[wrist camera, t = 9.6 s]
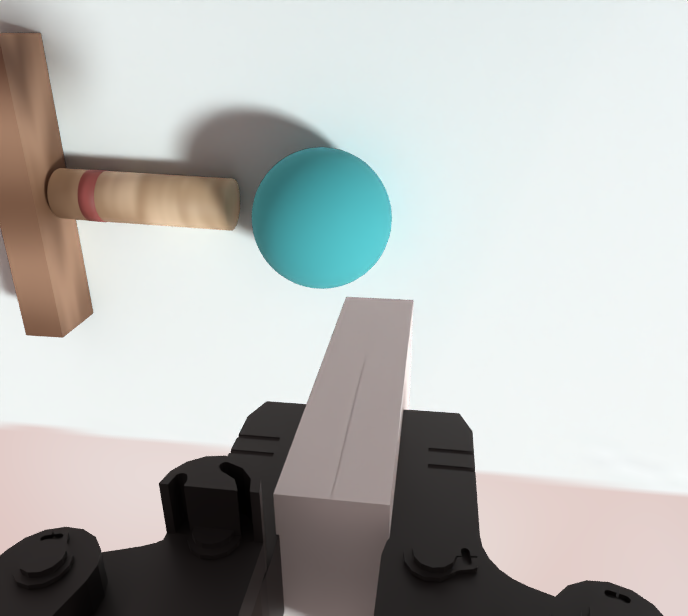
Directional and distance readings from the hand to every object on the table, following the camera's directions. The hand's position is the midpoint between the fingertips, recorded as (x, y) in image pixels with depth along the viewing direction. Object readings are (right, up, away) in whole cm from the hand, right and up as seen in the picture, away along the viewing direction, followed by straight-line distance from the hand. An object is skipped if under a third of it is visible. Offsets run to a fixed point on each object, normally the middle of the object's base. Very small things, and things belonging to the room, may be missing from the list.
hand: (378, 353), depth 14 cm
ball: (-2, +5, +13) cm, 14 cm away
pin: (-6, +6, +15) cm, 17 cm away
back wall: (-16, +7, +17) cm, 24 cm away
